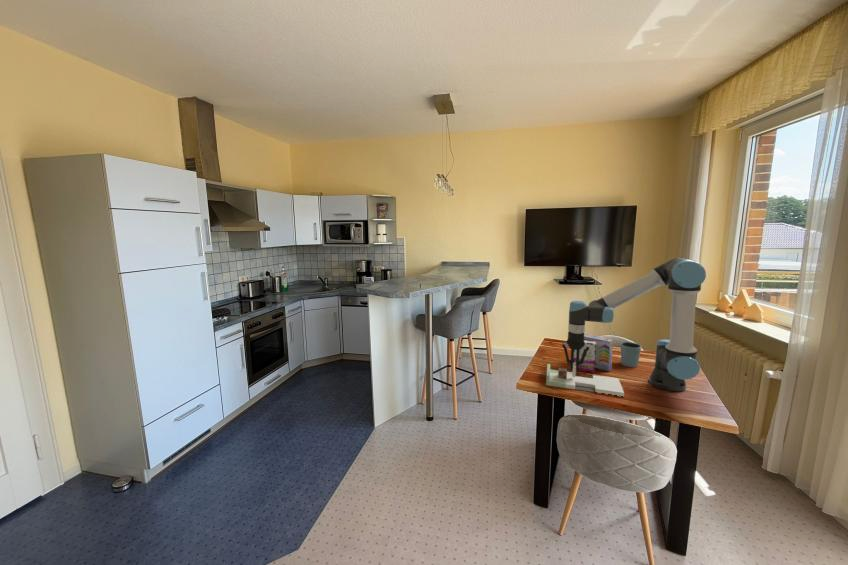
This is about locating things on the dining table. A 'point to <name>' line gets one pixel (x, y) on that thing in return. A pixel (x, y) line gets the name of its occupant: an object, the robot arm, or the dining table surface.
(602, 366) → the cake pan box
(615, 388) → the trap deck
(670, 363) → the robot arm
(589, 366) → the candy bar box
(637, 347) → the drinking glass
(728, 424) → the dining table surface
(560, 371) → the walnut block
